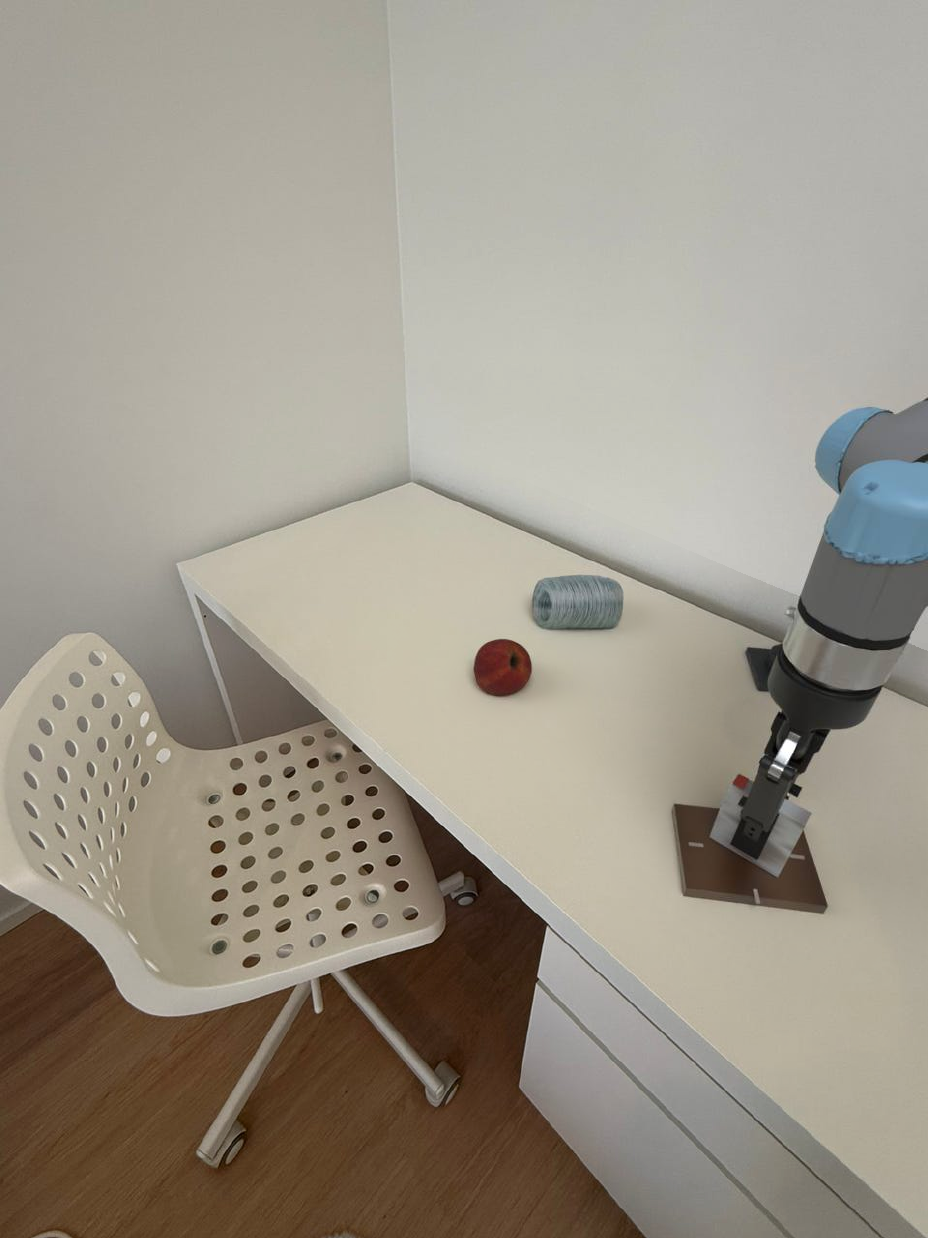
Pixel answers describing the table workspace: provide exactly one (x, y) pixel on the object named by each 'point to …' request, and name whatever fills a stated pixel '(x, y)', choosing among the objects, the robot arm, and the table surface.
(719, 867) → the base
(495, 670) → the apple
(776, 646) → the switch block
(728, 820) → the tap handle
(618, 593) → the spool
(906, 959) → the table surface
